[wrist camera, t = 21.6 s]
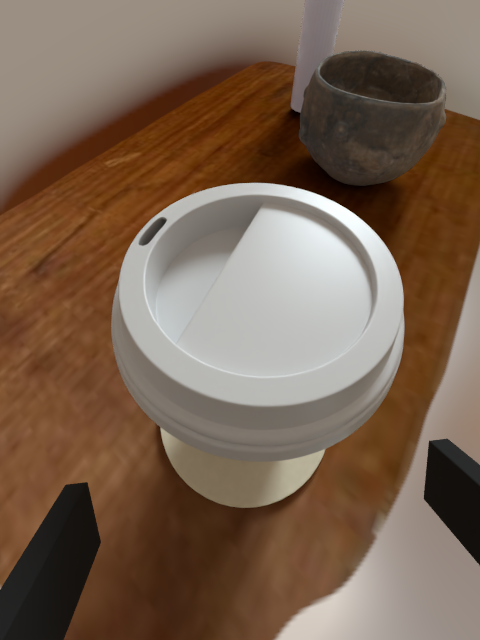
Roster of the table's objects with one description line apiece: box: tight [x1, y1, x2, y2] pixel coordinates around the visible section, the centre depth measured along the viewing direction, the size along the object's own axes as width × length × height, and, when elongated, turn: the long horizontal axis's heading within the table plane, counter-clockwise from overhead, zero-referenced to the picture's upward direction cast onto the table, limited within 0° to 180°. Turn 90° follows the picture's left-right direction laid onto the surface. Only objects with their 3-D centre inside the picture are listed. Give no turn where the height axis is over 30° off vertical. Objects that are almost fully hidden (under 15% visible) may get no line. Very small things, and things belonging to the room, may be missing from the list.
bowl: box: [299, 51, 446, 186], centre depth 33 cm, size 14×15×10 cm
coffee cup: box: [111, 183, 404, 462], centre depth 15 cm, size 10×10×15 cm
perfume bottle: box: [290, 0, 344, 113], centre depth 37 cm, size 6×6×20 cm
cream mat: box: [160, 427, 325, 508], centre depth 22 cm, size 12×12×1 cm
